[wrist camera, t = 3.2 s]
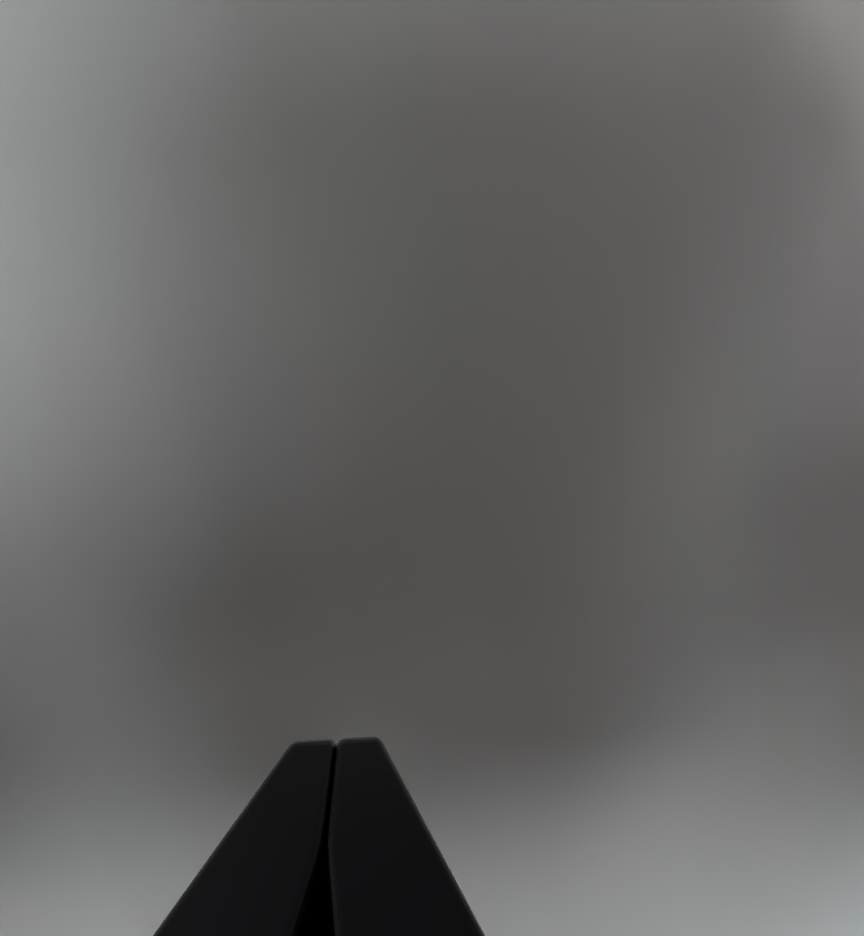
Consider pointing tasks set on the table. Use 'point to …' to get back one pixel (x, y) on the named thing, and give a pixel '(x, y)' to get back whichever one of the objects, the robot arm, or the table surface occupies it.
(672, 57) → the table surface
